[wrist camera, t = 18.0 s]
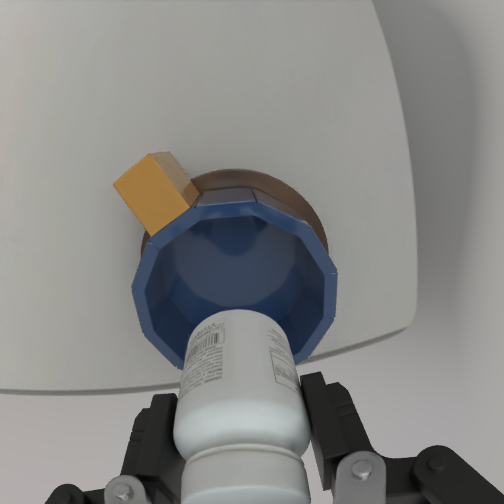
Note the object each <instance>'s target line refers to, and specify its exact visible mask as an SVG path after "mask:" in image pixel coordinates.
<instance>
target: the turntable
mask: <svg viewBox="0 0 504 504" xmlns="http://www.w3.org/2000/svg"><path fill="white" fill-rule="evenodd" d="M191 182H192V183H193V185H194V186H195V187H196V189H197V190H198V191H199V193H200V194H201V193H202V192H203V193H204V192H205V191H214V190H222V189H232V188H250V189H252V188H254V189H256V190H258V191H260V192H262V193H264V194H266V195H269V196H271V197H273V198H275V199H277V200H279V201H281V202H283V203H285V204H287V205H289V206H291V207H292V208H293V209H294V210H295V211H296V212H297V213H298V214H299V215H300V216H301V217H302V218H303V219H304V220H305V221H306V222H307V223H308V224H309V225H310V226H311V227H312V229H313V230H314V232H315V234H316V235H317V237H318V239H319V240H320V242H321V243H322V245H323V247H324V248H325V250H326V252H327V253H328V255H329V251H328V244H327V239H326V235H325V232H324V229H323V226H322V224H321V222H320V220H319V218H318V216H317V215H316V213H315V212H314V210H313V209H312V207H311V206H310V205H309V204H308V202H307V201H306V200H305V199H304V198H303V197H302V196H301V195H300V194H299V193H297V192H296V191H295V190H294V189H293V188H291V187H290V186H288V185H287V184H285V183H283V182H282V181H280V180H278V179H276V178H274V177H272V176H270V175H267V174H264V173H260V172H257V171H252V170H245V169H225V170H217V171H213V172H209V173H205V174H203V175H200V176H198V177H195V178H193V179H191ZM150 237H151V236H150V234H149V233H148V232H147V231H145V234H144V237H143V241H142V247H141V257H142V255H143V252H144V249H145V246H146V244H147V241H148V240H149V239H150Z"/></svg>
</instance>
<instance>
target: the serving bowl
mask: <svg viewBox="0 0 504 504" xmlns="http://www.w3.org/2000/svg"><path fill="white" fill-rule="evenodd" d="M113 186H114V187H115V189H116V190H117V191H118V193H119V194H120V196H121V197H122V198H123V200H124V201H125V202H126V204H127V205H128V207H129V208H130V209H131V211H132V212H133V213H134V215H135V216H136V217H137V219H138V220H139V221H140V223H141V224H142V225H143V227H144V228H145V229H146V231H147V232H148V233H149V234H150V236H151V237H150V239H149V240H148V241H147V244H146V246H145V249H144V252H143V255H142V257H141V260H140V263H139V266H138V269H137V272H136V274H135V277H134V280H133V283H132V286H131V287H132V294H133V298H134V302H135V306H136V310H137V314H138V318H139V321H140V325H141V329H142V332H143V333H145V334H144V336H145V337H146V338H147V339H148V340H149V341H150V342H151V343H152V344H153V345H154V346H155V347H156V348H157V349H158V350H159V351H160V352H161V353H162V354H163V355H164V356H165V357H166V358H167V359H168V360H169V361H170V362H171V363H172V364H173V365H174V366H175V367H176V366H177V368H178V369H180V370H183V368H184V363H185V356H186V351H187V347H188V342H189V339H190V336H191V334H192V332H193V331H194V329H195V328H196V327H197V326H198V325H199V324H200V323H201V322H202V321H204V320H205V319H206V318H208V317H210V316H212V315H214V314H216V313H219V312H222V311H228V310H236V309H240V310H251V311H255V312H258V313H261V314H264V315H266V316H268V317H270V318H271V319H273V320H274V321H275V322H276V323H277V324H278V325H279V326H280V327H281V328H282V330H283V331H284V333H285V335H286V337H287V340H288V342H289V346H290V349H291V353H292V356H293V360H294V364H295V365H296V364H298V363H300V362H302V361H303V360H305V359H307V358H308V356H310V355H311V354H312V352H313V351H314V349H315V348H316V346H317V345H318V344H319V342H320V341H321V339H322V338H323V336H324V335H325V333H326V332H327V330H328V329H329V327H330V326H331V324H332V323H333V321H334V318H335V314H336V297H337V276H338V273H337V269H336V267H335V265H334V264H333V262H332V260H331V258H330V257H329V255H328V253H327V252H326V250H325V248H324V247H323V245H322V243H321V242H320V240H319V239H318V237H317V235H316V234H315V232H314V230H313V229H312V227H311V226H310V225H309V224H308V223H307V222H306V221H305V220H304V219H303V218H302V217H301V216H300V215H299V214H298V213H297V212H296V211H295V210H294V209H293V208H292V207H291V206H289V205H287V204H285V203H283V202H281V201H279V200H277V199H275V198H273V197H271V196H269V195H266V194H264V193H262V192H260V191H258V190H256V189H254V188H252V189H250V188H232V189H222V190H214V191H205V192H204V193H203V192H202V193H201V194H200V193H199V191H198V190H197V189H196V187H195V186H194V185H193V183H192V182H191V180H190V179H189V178H188V176H187V175H186V173H185V172H184V171H183V169H182V168H181V167H180V165H179V164H178V162H177V161H176V160H175V158H174V157H173V155H172V154H171V153H170V152H157V153H149V154H148V155H146V156H145V157H144V158H143V159H141V160H140V161H139V162H138V163H137V164H135V165H134V166H133V167H132V168H131V169H129V170H128V171H127V172H126V173H125V174H123V175H122V176H121V177H120V178H119V179H118V180H117V181H115V182H114V183H113Z"/></svg>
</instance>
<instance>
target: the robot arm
mask: <svg viewBox="0 0 504 504" xmlns="http://www.w3.org/2000/svg"><path fill="white" fill-rule="evenodd" d="M300 382H301V390H302V393H303V397H304V401H305V404H306V408H307V412H308V416H309V420H310V425H311V443H312V446H313V450H314V455H315V459H316V463H317V466H318V471H319V475H320V478H321V482H322V487H323V491H325V490H329V489H331V492H332V495H333V504H504V495H503V494H502V493H501V492H500V491H499V490H497V489H496V488H495V487H494V486H493V485H492V484H490V483H489V482H488V481H487V480H486V479H485V478H484V477H483V476H481V475H480V474H479V473H478V472H477V471H476V470H474V469H473V468H472V467H471V466H470V465H469V464H468V463H466V462H465V461H464V460H463V459H462V458H461V457H460V456H459V455H457V454H456V453H455V452H454V451H453V450H451V449H450V448H448V447H445V446H441V445H440V446H439V445H436V446H431V447H428V448H426V449H424V450H423V451H421V452H420V453H419V454H418V456H417V457H409V458H394V459H393V458H387V457H384V456H381V455H380V454H378V453H377V452H376V451H375V450H374V449H373V448H372V446H371V444H370V441H369V439H368V436H367V434H366V431H365V429H364V427H363V424H362V422H361V420H360V417H359V415H358V413H357V411H356V409H355V406H354V404H353V401H352V398H351V396H350V394H349V392H348V390H347V389H346V388H345V387H343V386H342V385H341V384H340V383H339V382H336V383H332V384H328V385H326V383H325V381H324V378H323V375H322V373H321V372H316V373H311V374H306V375H302V376H300ZM177 402H178V398H177V396H176V394H174V393H169V394H155V395H154V396H153V398H152V402H151V406H150V408H146V409H145V408H143V409H142V411H141V412H140V413H139V414H138V416H137V417H136V418H135V421H134V425H133V429H132V432H131V436H130V441H129V443H128V447H127V451H126V454H125V458H124V462H123V466H122V470H121V474H120V476H118V477H115V478H113V479H112V480H111V481H109V483H108V484H107V485H106V487H105V488H104V489H98V490H93V491H85V492H83V491H81V490H80V489H79V488H78V487H77V486H75V485H73V484H63V485H60V486H58V487H57V488H56V489H55V490H54V491H53V492H52V494H51V495H50V497H49V498H48V500H47V501H46V502H45V504H181V485H182V474H183V471H184V467H185V464H186V462H187V461H186V460H185V459H184V458H183V457H182V456H181V454H180V453H179V451H178V450H177V448H176V446H175V442H174V438H173V429H174V421H175V413H176V408H177Z"/></svg>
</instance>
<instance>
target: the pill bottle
mask: <svg viewBox="0 0 504 504" xmlns="http://www.w3.org/2000/svg"><path fill="white" fill-rule="evenodd" d="M173 438H174V442H175V446H176V448H177V450H178V451H179V453H180V454H181V456H182V457H183V458H184V459H185V460H186V461H187V462H186V464H185V467H184V471H183V474H182V485H181V504H310V503H311V497H310V491H309V485H308V479H307V474H306V470H305V468H304V463H303V461H302V459H301V456H302V455H303V454H304V452H305V451H306V449H307V448H308V445H309V443H310V439H311V425H310V420H309V416H308V412H307V408H306V404H305V401H304V397H303V393H302V390H301V386H300V383H299V378H298V375H297V371H296V367H295V364H294V360H293V356H292V353H291V349H290V346H289V342H288V340H287V337H286V335H285V333H284V331H283V330H282V328H281V327H280V326H279V325H278V324H277V323H276V322H275V321H274V320H273V319H271V318H270V317H268V316H266V315H264V314H261V313H258V312H255V311H251V310H240V309H236V310H228V311H222V312H219V313H216V314H214V315H212V316H210V317H208V318H206V319H205V320H204V321H202V322H201V323H200V324H199V325H198V326H197V327H196V328H195V329H194V331H193V332H192V334H191V336H190V339H189V342H188V347H187V351H186V356H185V363H184V368H183V374H182V379H181V385H180V391H179V397H178V402H177V408H176V413H175V421H174V429H173Z"/></svg>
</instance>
